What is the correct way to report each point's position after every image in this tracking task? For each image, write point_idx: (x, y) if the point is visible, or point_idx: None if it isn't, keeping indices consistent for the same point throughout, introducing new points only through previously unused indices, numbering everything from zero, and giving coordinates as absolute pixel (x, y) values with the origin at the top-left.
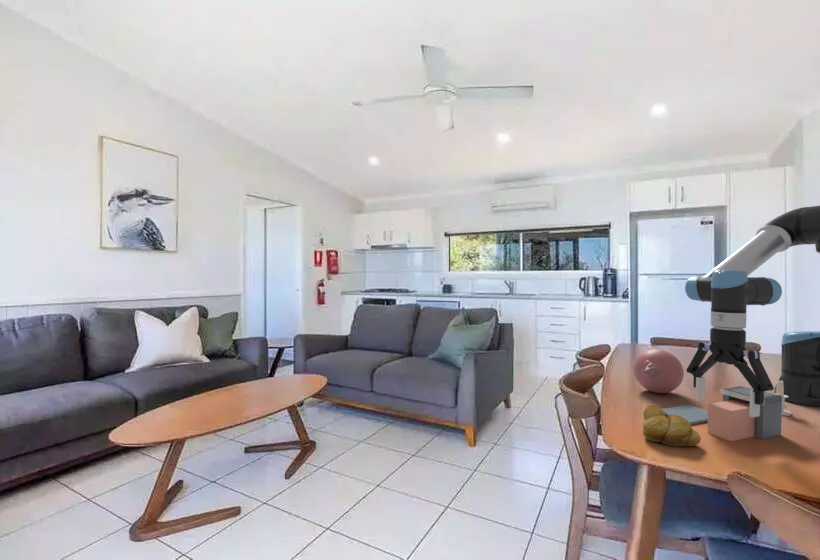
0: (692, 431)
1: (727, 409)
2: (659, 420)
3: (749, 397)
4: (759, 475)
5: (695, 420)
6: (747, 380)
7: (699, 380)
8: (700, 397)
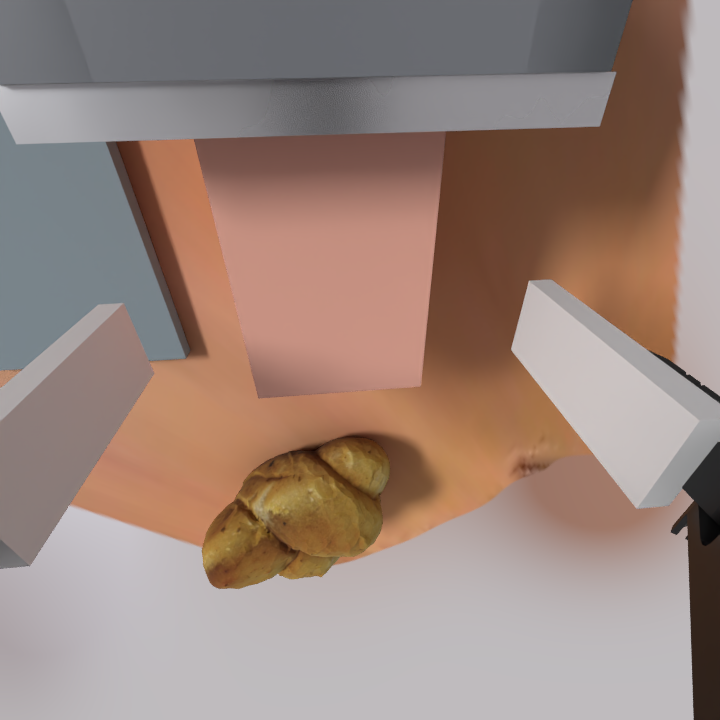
0: (374, 492)
1: (390, 385)
2: (320, 576)
3: (438, 129)
4: (561, 438)
5: (134, 245)
6: (702, 635)
7: (45, 524)
8: (133, 369)
